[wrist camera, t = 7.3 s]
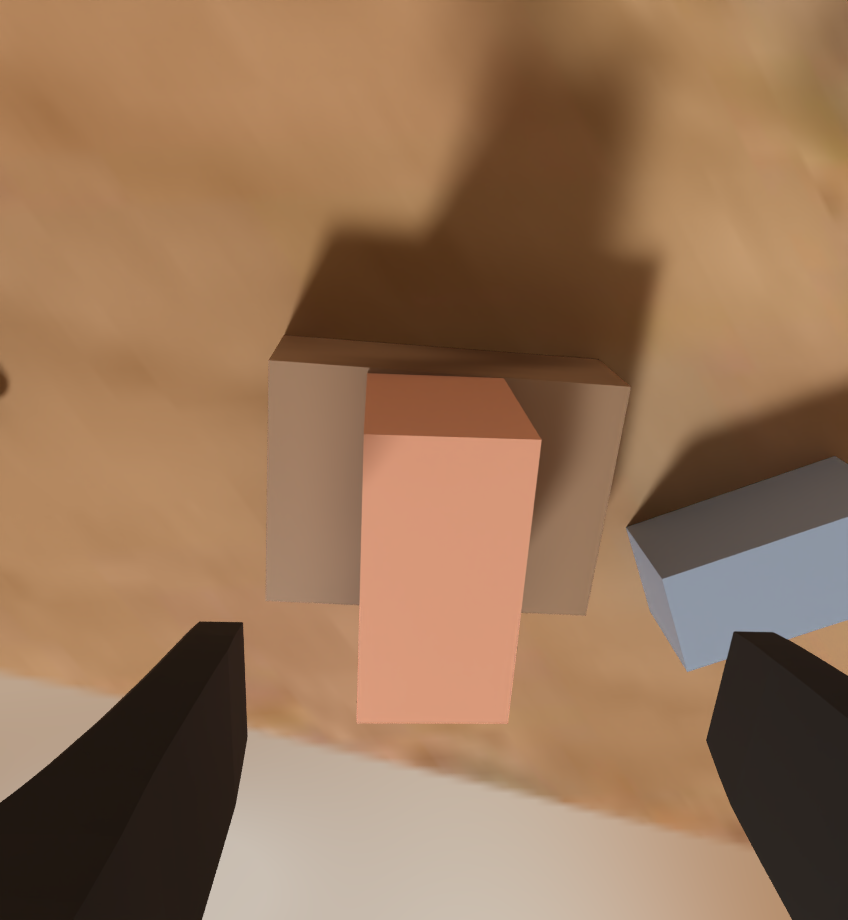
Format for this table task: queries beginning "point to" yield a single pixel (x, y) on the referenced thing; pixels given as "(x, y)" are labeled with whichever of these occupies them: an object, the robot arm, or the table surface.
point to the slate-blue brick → (749, 562)
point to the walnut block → (341, 462)
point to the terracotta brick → (442, 547)
